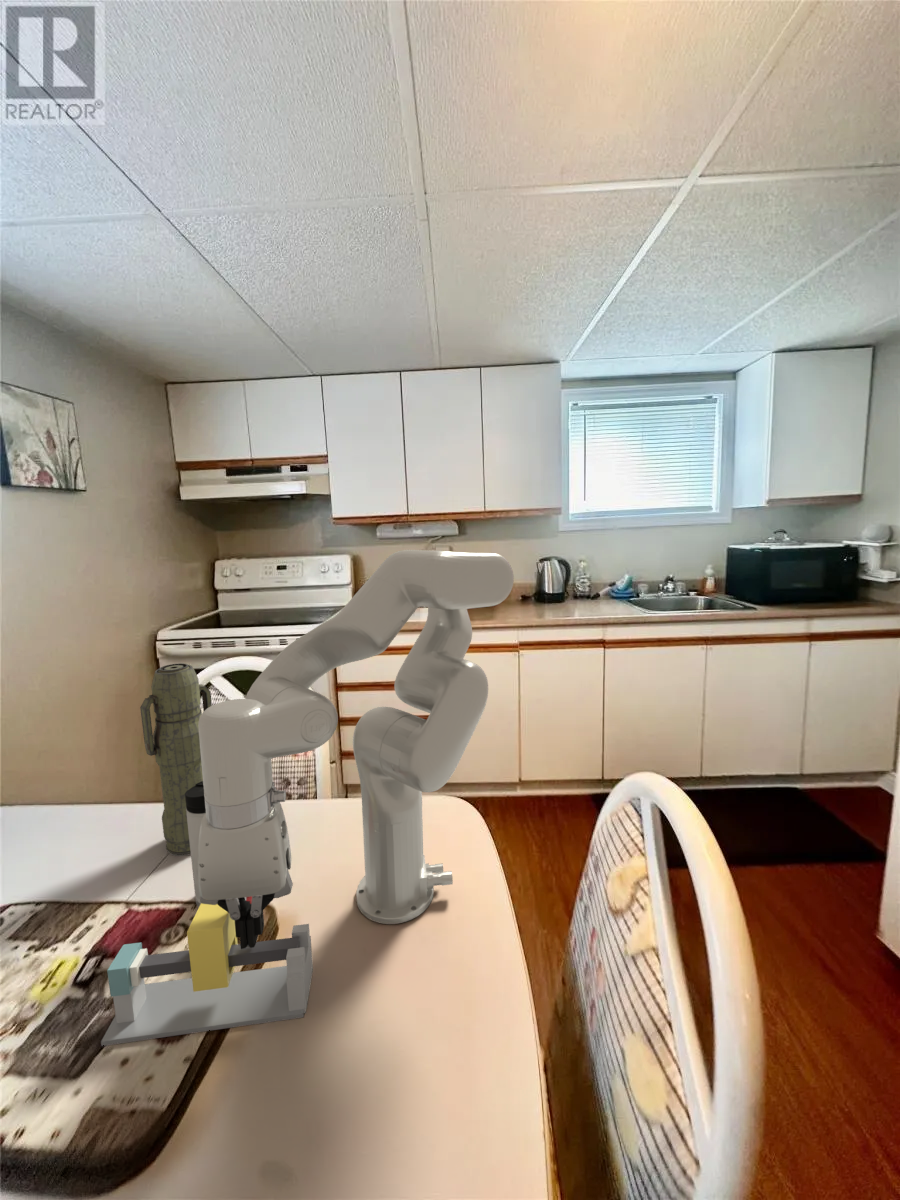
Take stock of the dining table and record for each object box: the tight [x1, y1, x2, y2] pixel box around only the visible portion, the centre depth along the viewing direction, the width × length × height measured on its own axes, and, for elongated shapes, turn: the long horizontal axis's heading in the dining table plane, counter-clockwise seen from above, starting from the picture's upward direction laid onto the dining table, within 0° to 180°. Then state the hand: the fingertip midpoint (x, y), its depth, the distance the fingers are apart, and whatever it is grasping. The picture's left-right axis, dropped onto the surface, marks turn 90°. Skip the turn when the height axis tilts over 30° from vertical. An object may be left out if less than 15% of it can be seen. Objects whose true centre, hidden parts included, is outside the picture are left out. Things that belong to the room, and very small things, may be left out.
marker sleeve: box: [186, 903, 238, 992], centre depth 60 cm, size 4×4×8 cm
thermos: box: [139, 662, 213, 856], centre depth 91 cm, size 9×12×35 cm
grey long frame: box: [100, 923, 314, 1047], centre depth 60 cm, size 23×7×8 cm, turn 98°
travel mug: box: [185, 781, 206, 908], centre depth 78 cm, size 6×7×20 cm
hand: (250, 938), depth 60 cm, fingers closed
